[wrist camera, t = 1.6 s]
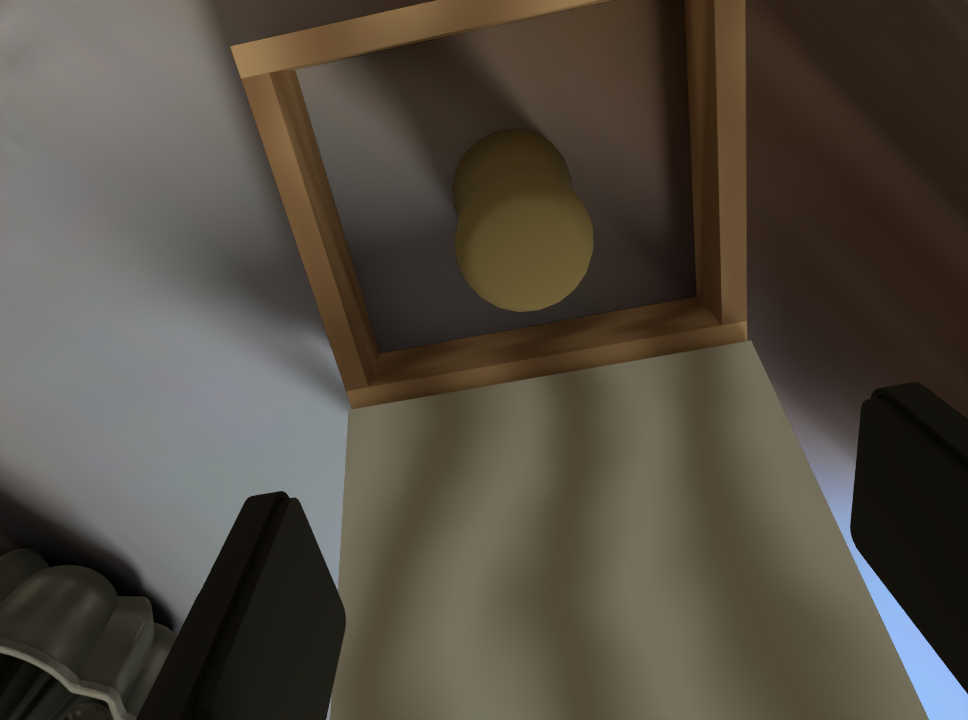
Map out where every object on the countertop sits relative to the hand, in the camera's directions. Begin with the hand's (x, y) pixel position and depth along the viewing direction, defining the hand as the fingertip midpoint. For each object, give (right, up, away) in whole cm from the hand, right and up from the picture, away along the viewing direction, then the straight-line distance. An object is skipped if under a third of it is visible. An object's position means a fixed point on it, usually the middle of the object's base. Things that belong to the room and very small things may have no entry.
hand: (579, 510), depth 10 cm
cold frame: (+1, +8, +23) cm, 24 cm away
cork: (0, +11, +21) cm, 24 cm away
